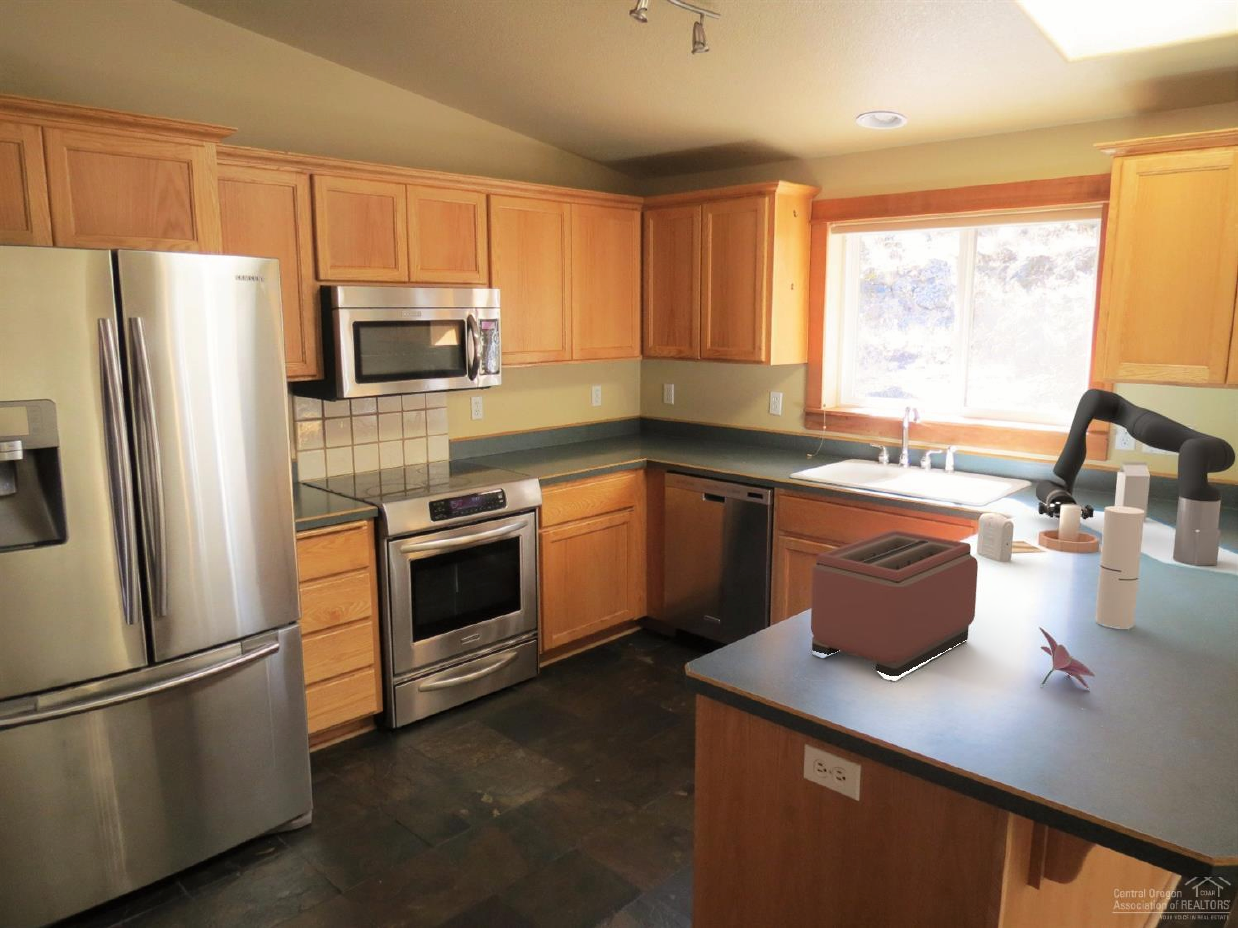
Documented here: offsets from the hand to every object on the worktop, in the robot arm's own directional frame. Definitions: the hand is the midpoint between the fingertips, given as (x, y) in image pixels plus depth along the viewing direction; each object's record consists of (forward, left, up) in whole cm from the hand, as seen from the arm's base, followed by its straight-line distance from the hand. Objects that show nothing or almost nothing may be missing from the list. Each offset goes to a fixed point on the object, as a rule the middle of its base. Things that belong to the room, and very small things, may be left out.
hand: (1068, 515), depth 243 cm
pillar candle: (-2, +1, -8) cm, 8 cm away
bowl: (-2, +1, -9) cm, 9 cm away
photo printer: (-11, +28, -9) cm, 31 cm away
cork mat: (-2, +17, -9) cm, 19 cm away
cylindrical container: (-63, +29, -9) cm, 70 cm away
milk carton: (+28, -39, -9) cm, 49 cm away
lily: (-91, +58, -9) cm, 109 cm away
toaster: (-70, +80, -9) cm, 106 cm away
